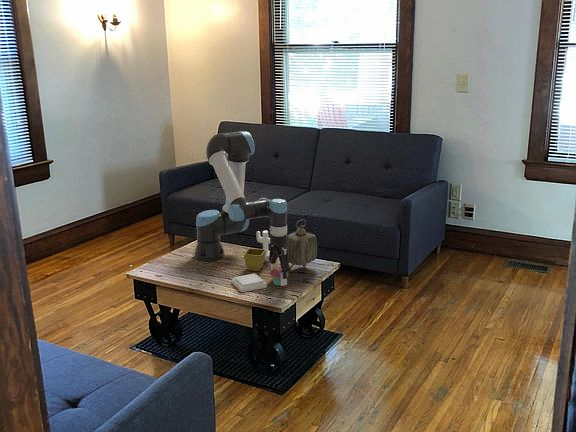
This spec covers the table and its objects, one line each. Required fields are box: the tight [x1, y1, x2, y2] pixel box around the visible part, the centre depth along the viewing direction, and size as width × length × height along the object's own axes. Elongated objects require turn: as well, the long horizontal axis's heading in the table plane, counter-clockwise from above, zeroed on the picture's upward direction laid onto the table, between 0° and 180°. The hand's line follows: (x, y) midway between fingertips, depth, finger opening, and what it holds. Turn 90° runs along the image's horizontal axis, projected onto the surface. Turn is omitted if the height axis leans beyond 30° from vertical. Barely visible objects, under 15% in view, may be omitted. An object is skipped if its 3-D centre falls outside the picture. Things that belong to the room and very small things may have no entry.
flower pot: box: [243, 248, 266, 272], centre depth 290 cm, size 9×9×9 cm
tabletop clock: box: [284, 218, 318, 272], centre depth 287 cm, size 14×9×25 cm, turn 136°
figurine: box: [256, 230, 270, 262], centre depth 302 cm, size 7×9×15 cm
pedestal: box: [231, 273, 268, 293], centre depth 272 cm, size 12×12×3 cm
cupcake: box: [269, 259, 289, 286], centre depth 273 cm, size 9×8×12 cm
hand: (279, 280), depth 274 cm, fingers open, 10 cm apart
